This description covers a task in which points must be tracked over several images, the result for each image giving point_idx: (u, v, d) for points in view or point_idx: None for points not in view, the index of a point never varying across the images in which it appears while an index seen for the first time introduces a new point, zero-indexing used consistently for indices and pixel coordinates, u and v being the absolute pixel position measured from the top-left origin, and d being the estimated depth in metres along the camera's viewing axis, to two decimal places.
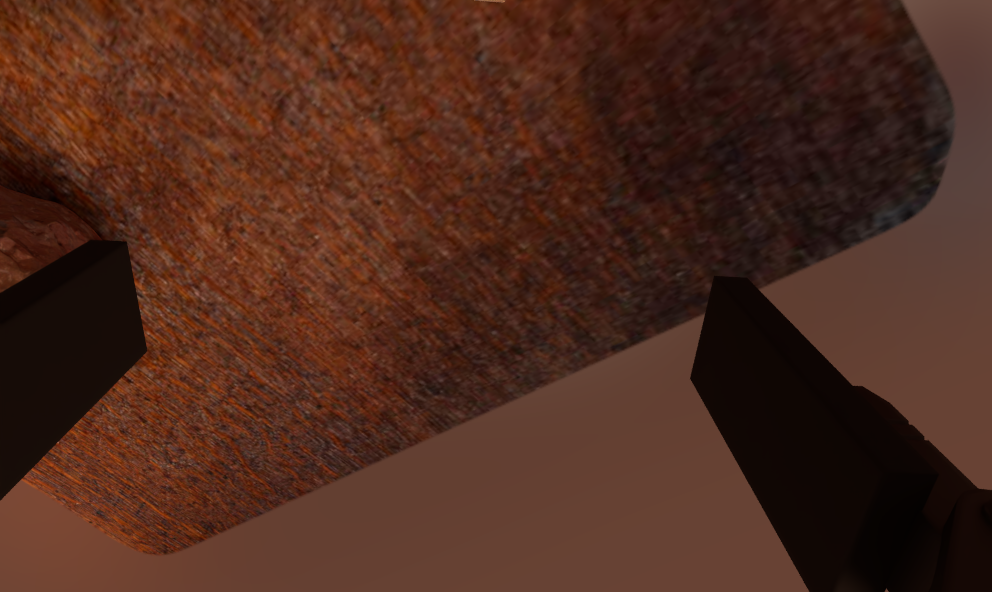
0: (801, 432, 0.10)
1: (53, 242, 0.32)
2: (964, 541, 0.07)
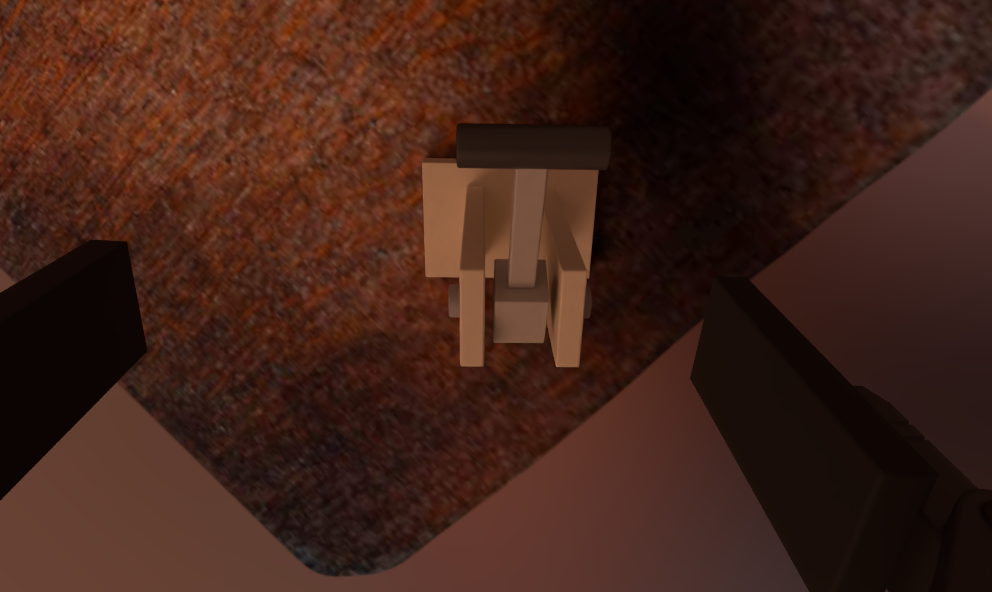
0: (801, 432, 0.10)
1: None
2: (965, 541, 0.07)
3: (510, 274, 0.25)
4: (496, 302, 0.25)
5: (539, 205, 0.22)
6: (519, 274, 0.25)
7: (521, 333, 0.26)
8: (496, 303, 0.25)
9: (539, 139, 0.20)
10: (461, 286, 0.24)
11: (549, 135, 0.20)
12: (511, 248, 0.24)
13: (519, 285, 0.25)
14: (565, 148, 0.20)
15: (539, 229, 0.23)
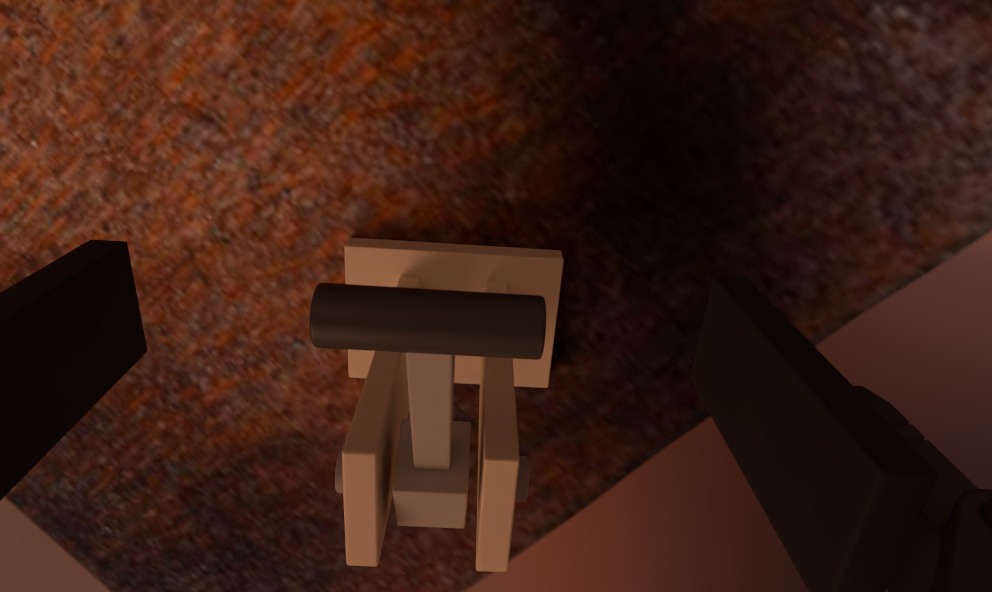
0: (801, 432, 0.10)
1: None
2: (964, 541, 0.07)
3: (414, 456, 0.18)
4: (394, 491, 0.18)
5: (445, 391, 0.15)
6: (426, 457, 0.18)
7: (433, 519, 0.20)
8: (394, 492, 0.18)
9: (436, 319, 0.13)
10: (344, 472, 0.18)
11: (451, 314, 0.13)
12: (412, 431, 0.17)
13: (428, 467, 0.18)
14: (475, 334, 0.13)
15: (448, 415, 0.16)
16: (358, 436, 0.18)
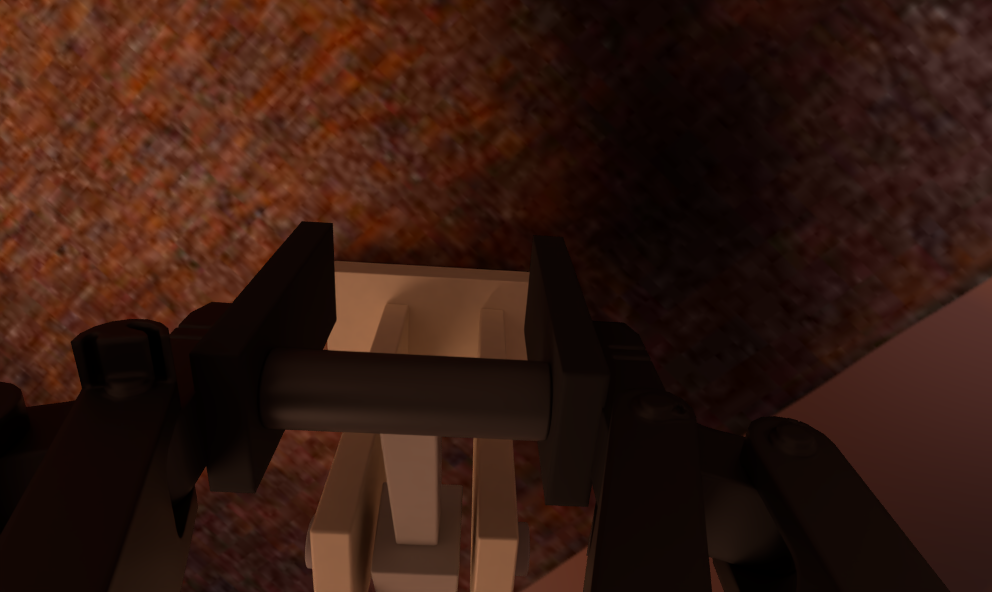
0: (547, 355, 0.12)
1: None
2: (619, 435, 0.09)
3: (396, 533, 0.15)
4: (373, 573, 0.16)
5: (429, 471, 0.13)
6: (410, 533, 0.15)
7: None
8: (373, 574, 0.16)
9: (416, 396, 0.11)
10: (313, 554, 0.15)
11: (434, 390, 0.11)
12: (392, 509, 0.14)
13: (412, 543, 0.16)
14: (465, 414, 0.11)
15: (434, 494, 0.13)
16: (330, 510, 0.15)
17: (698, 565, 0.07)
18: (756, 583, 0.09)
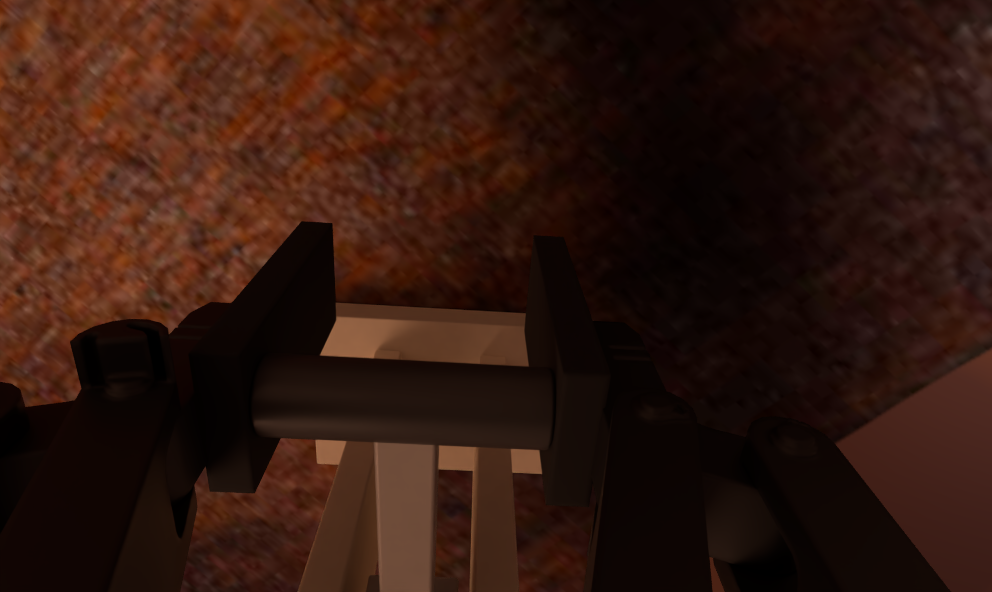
0: (547, 355, 0.12)
1: None
2: (620, 436, 0.09)
3: None
4: None
5: (425, 507, 0.12)
6: None
7: None
8: None
9: (415, 390, 0.10)
10: None
11: (434, 384, 0.10)
12: (380, 577, 0.13)
13: None
14: (465, 410, 0.10)
15: (429, 548, 0.12)
16: None
17: (698, 565, 0.07)
18: (757, 583, 0.09)
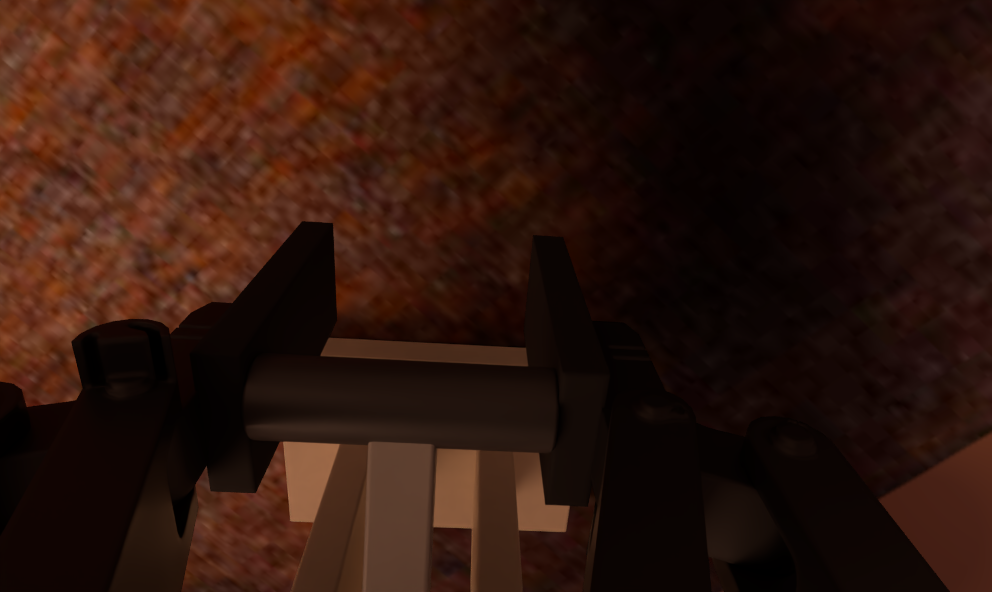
0: (547, 355, 0.12)
1: None
2: (619, 435, 0.09)
3: None
4: None
5: (420, 538, 0.10)
6: None
7: None
8: None
9: (415, 375, 0.10)
10: None
11: (435, 370, 0.10)
12: None
13: None
14: (466, 392, 0.10)
15: None
16: None
17: (697, 565, 0.07)
18: (756, 582, 0.09)
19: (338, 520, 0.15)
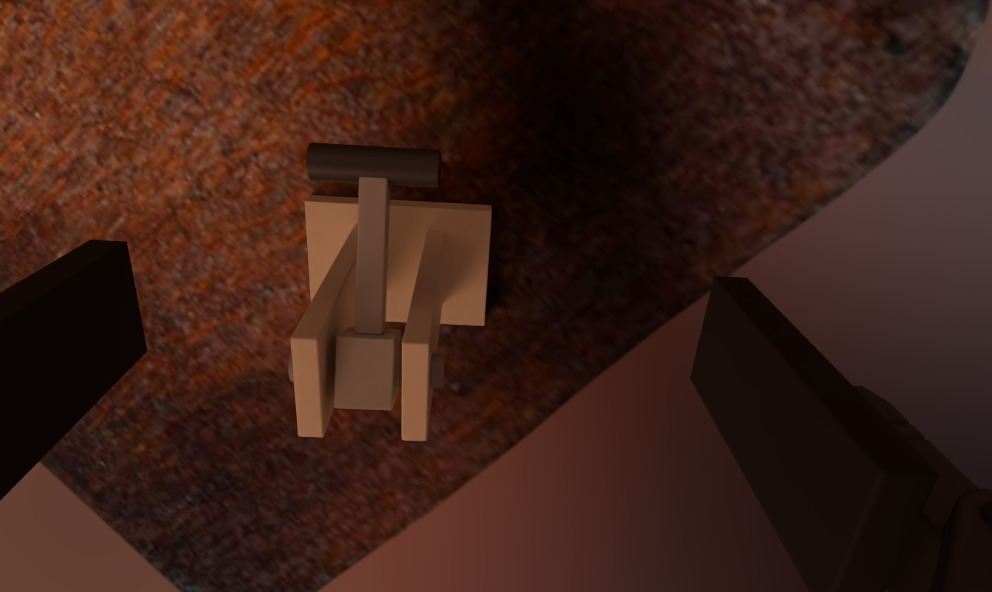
0: (802, 432, 0.10)
1: None
2: (964, 541, 0.07)
3: (356, 312, 0.24)
4: (338, 338, 0.24)
5: (381, 220, 0.24)
6: (365, 312, 0.24)
7: (365, 391, 0.24)
8: (337, 339, 0.24)
9: (379, 149, 0.24)
10: (293, 355, 0.23)
11: (387, 147, 0.24)
12: (356, 276, 0.24)
13: (365, 329, 0.24)
14: (400, 155, 0.24)
15: (383, 250, 0.24)
16: (304, 328, 0.23)
17: None
18: None
19: (344, 265, 0.29)
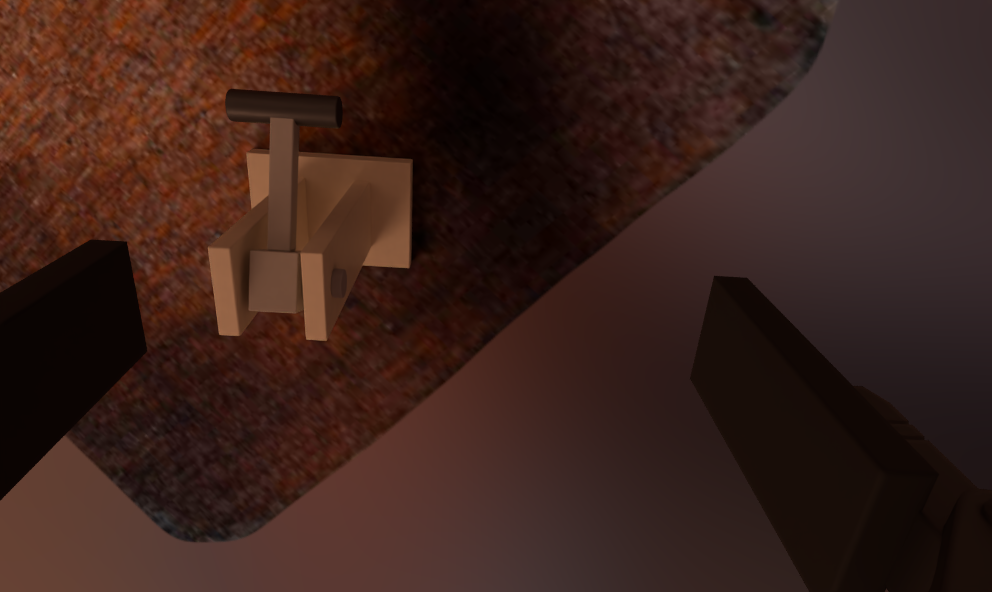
0: (801, 432, 0.10)
1: None
2: (964, 541, 0.07)
3: (268, 232, 0.29)
4: (251, 251, 0.28)
5: (289, 154, 0.29)
6: (276, 232, 0.29)
7: (274, 297, 0.29)
8: (251, 252, 0.28)
9: (287, 94, 0.29)
10: (210, 262, 0.27)
11: (294, 93, 0.29)
12: (268, 201, 0.29)
13: (276, 246, 0.29)
14: (304, 99, 0.28)
15: (290, 179, 0.29)
16: (221, 241, 0.28)
17: None
18: None
19: None
